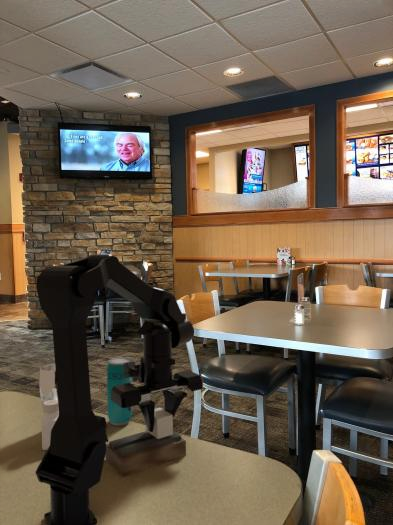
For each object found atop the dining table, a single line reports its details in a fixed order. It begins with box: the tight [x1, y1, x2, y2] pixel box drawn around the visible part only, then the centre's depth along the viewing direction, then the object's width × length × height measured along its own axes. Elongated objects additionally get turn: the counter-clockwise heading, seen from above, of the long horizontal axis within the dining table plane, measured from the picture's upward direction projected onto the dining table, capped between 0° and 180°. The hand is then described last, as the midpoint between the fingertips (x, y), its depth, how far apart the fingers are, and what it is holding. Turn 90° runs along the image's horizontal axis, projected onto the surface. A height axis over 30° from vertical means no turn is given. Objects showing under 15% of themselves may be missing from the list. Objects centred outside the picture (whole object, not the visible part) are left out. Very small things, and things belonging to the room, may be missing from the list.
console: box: [104, 430, 187, 478], centre depth 87 cm, size 14×8×4 cm, turn 125°
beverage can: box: [106, 357, 133, 427], centre depth 104 cm, size 6×6×15 cm
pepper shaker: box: [41, 400, 59, 451], centre depth 92 cm, size 4×4×10 cm
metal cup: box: [38, 362, 58, 407], centre depth 99 cm, size 7×7×15 cm
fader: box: [145, 407, 174, 439], centre depth 88 cm, size 4×5×5 cm
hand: (159, 428), depth 88 cm, fingers closed on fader, 3 cm apart
